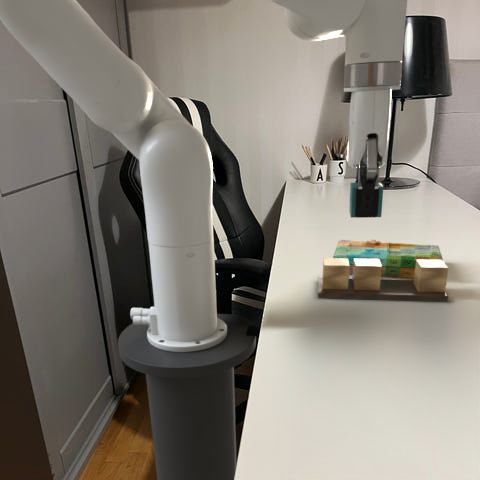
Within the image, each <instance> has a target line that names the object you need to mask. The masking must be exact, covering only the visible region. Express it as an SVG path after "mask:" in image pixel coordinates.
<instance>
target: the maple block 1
mask: <svg viewBox="0 0 480 480" xmlns="http://www.w3.org/2000/svg"><path fill="white" fill-rule="evenodd" d="M349 267H350V266H349V261H348V258H333V257H323V258H322V273H321V278H322V289H340V290H348V281H349V279H350V274H349Z"/></svg>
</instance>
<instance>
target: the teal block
mask: <svg viewBox="0 0 480 480" xmlns="http://www.w3.org/2000/svg"><path fill="white" fill-rule="evenodd" d="M356 189H358V182H357V183H356V182H350V188H349V190H350V191H349V192H350V193H349V208H348V210H349V216H350V218H351V219H352V218H353V219H354V218H357V217H356V216H355V203H356ZM378 189H379V202H378V215H377V217H376V218H382V214H383V213H382V211H383V210H382V209H383V201H384V199H383V198H384V186H383V184H382V182H381V181H379V187H378ZM357 219H358V218H357Z"/></svg>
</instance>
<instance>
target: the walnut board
mask: <svg viewBox="0 0 480 480" xmlns="http://www.w3.org/2000/svg"><path fill="white" fill-rule="evenodd" d="M317 298H318V299H337V300H340V299H342V300H371V301H373V300H374V301H375V300H377V301H405V302H407V301H408V302H410V301H411V302H440V303H441V302H445V303H447V302H449V295H448V293H447V292H446V291H445V292H418V290H417V289H416V287H415V285H414V279H388V278H387V279H385V278H381V282H380V290H379V291H377V290H354V288H353V284H352V278H349V281H348V290H340V289H322V277H317Z"/></svg>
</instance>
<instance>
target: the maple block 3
mask: <svg viewBox="0 0 480 480" xmlns="http://www.w3.org/2000/svg"><path fill="white" fill-rule="evenodd" d="M443 261H444V259H443V260H416V267H415V275H414V278H413V280H414V285H415V287H416V289H417V290H418V292H446V286H447V280H448V274H449V266H448V265H447V264H446V263H445V261H444V262H443Z"/></svg>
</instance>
